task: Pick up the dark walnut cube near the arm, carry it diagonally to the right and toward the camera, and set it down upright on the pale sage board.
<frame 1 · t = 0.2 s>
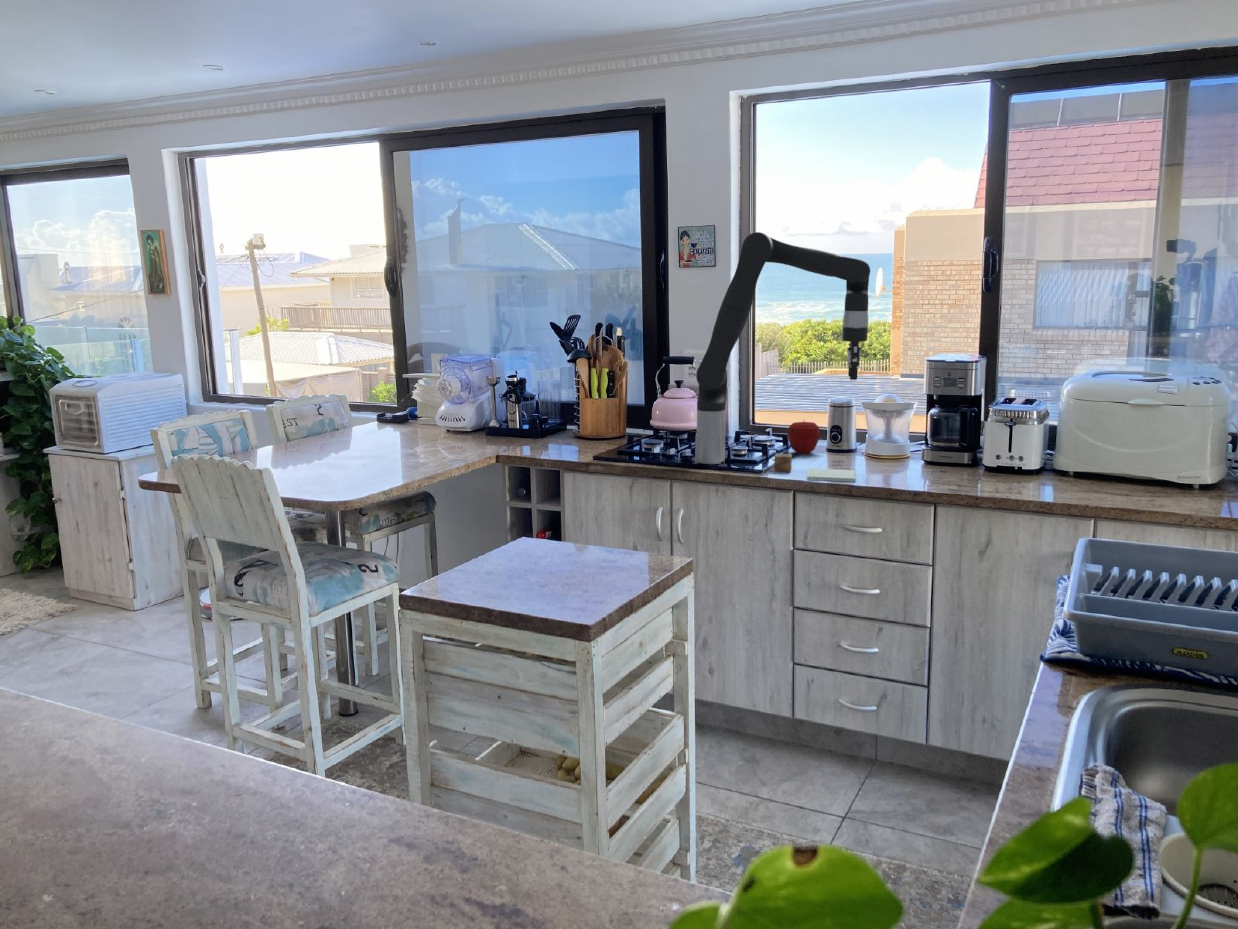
hand: (852, 378, 304), 29 cm above the counter, fingers open, 8 cm apart
sage board: (831, 476, 296), on the counter
walnut cube: (782, 470, 305), on the counter
apple: (802, 454, 333), on the counter
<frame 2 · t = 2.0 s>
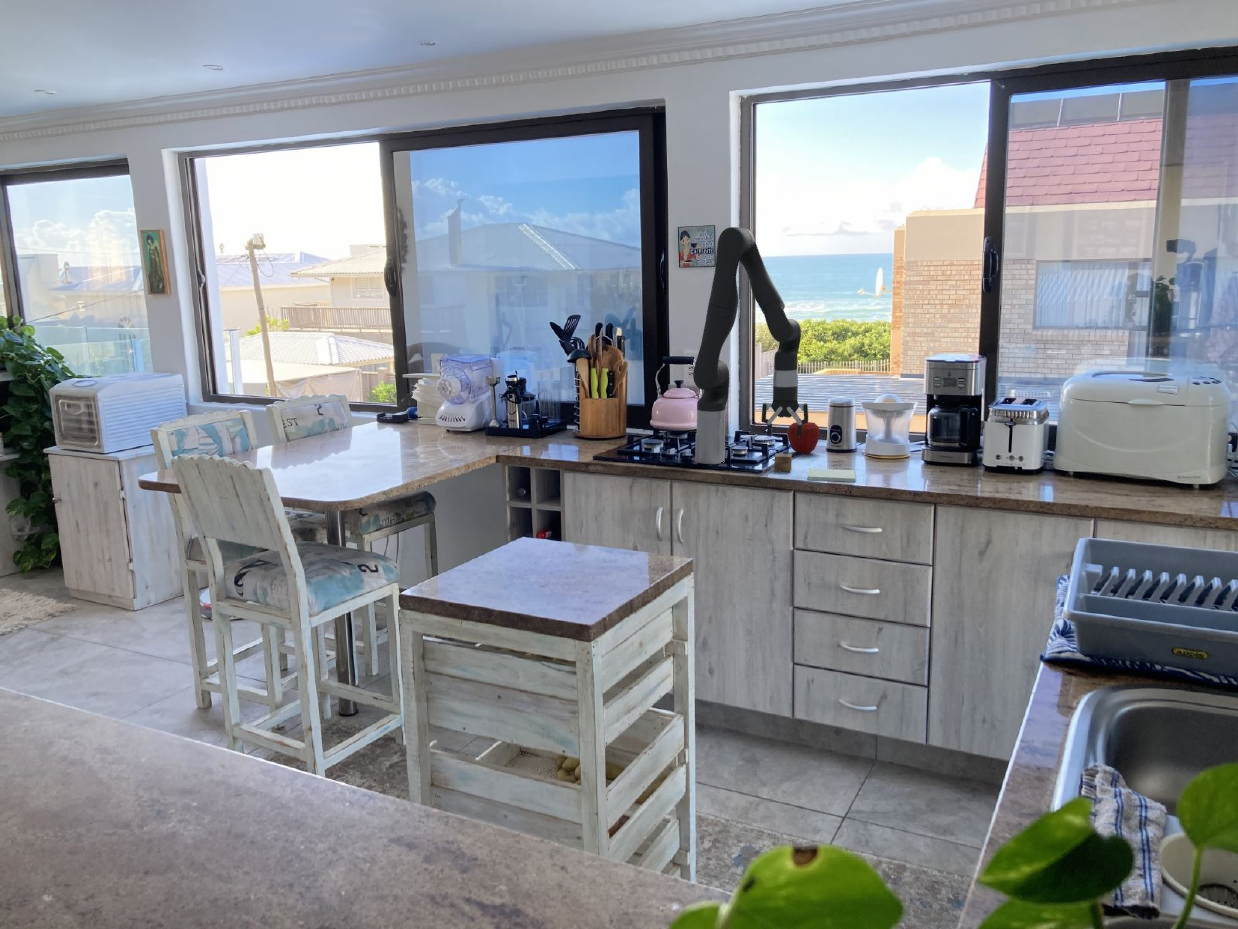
hand: (784, 436, 303), 11 cm above the counter, fingers open, 8 cm apart
nothing on the counter moved.
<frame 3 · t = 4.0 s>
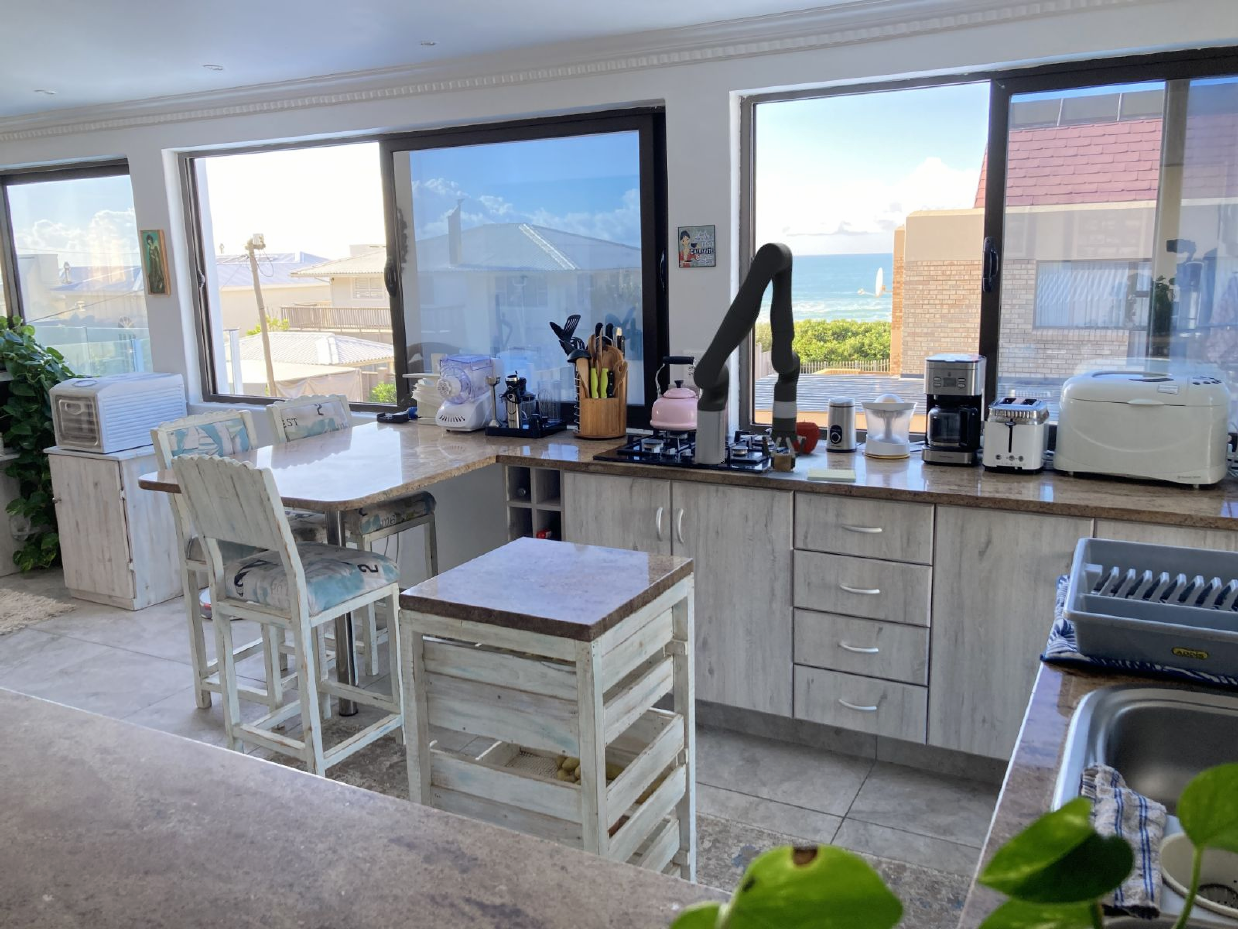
hand: (782, 468, 305), 1 cm above the counter, fingers closed on walnut cube, 5 cm apart
walnut cube: (782, 470, 305), on the counter, touching gripper
everything else where it was.
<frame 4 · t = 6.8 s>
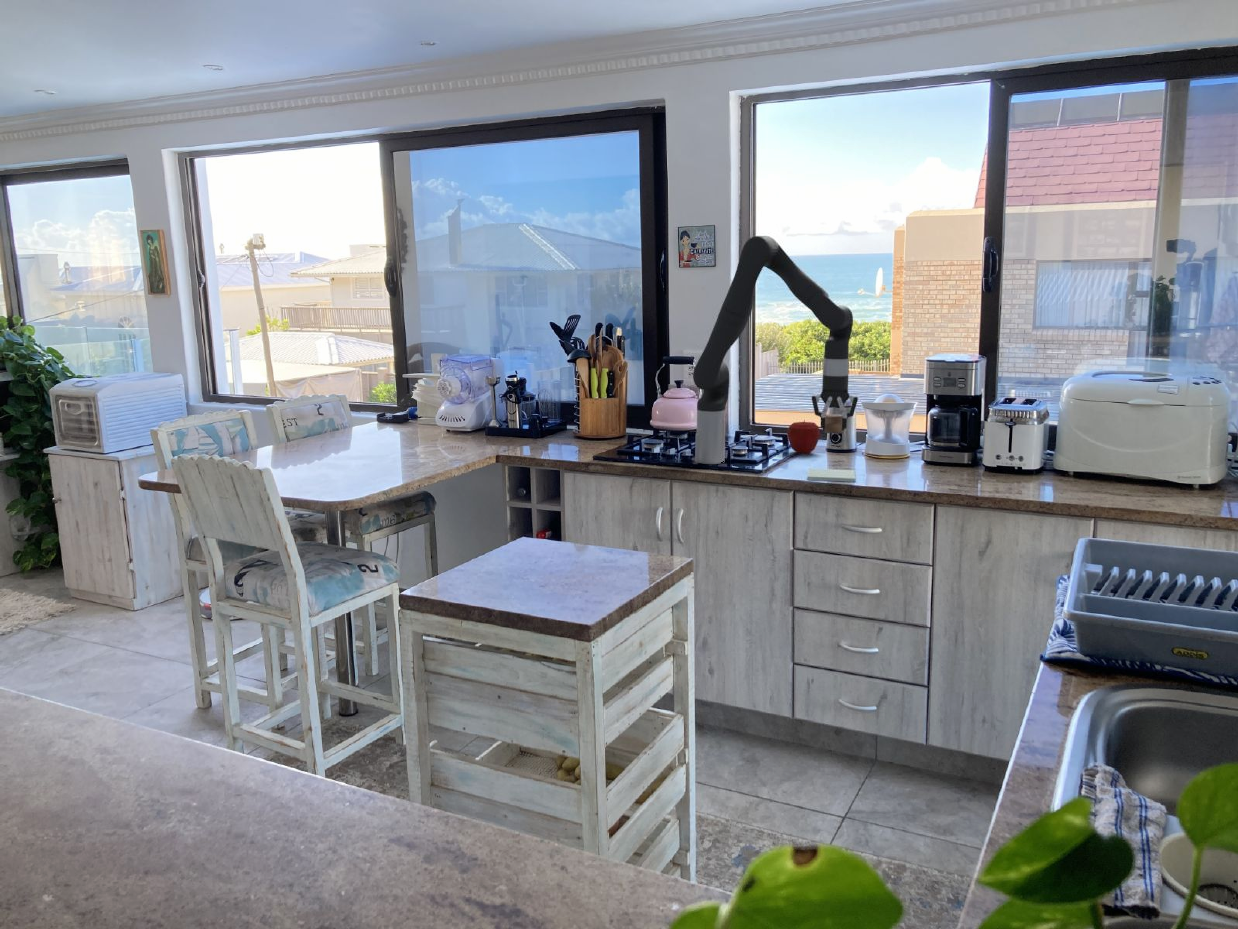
hand: (833, 429, 293), 14 cm above the counter, fingers closed on walnut cube, 5 cm apart
walnut cube: (833, 431, 294), point 14 cm above the counter, touching gripper
everything else where it was.
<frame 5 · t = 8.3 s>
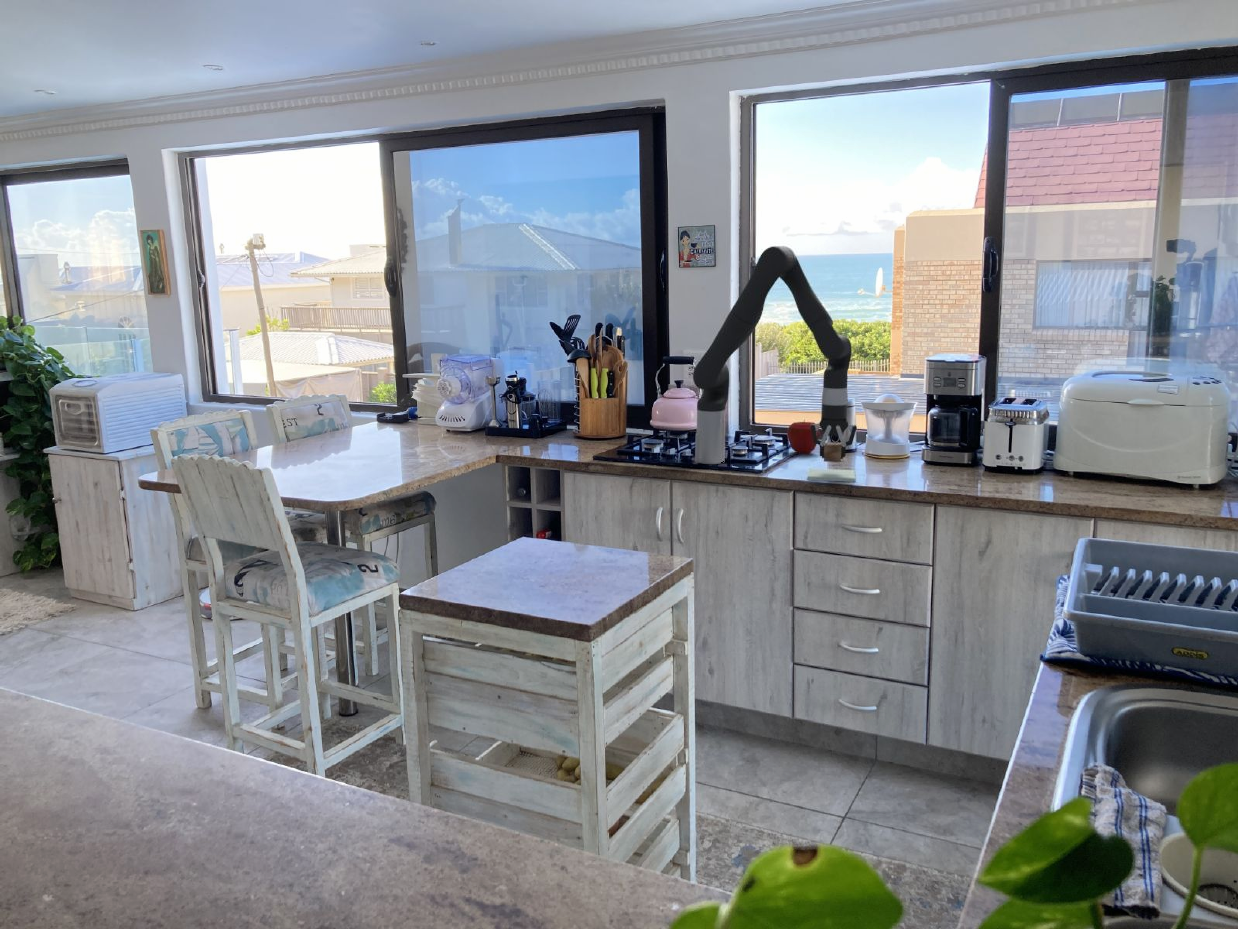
hand: (832, 458, 295), 6 cm above the counter, fingers closed on walnut cube, 5 cm apart
walnut cube: (832, 460, 295), point 5 cm above the counter, touching gripper
everything else where it was.
when the fingers open (3 cm above the counter, at t = 9.8 s): walnut cube drops 1 cm, resting on sage board.
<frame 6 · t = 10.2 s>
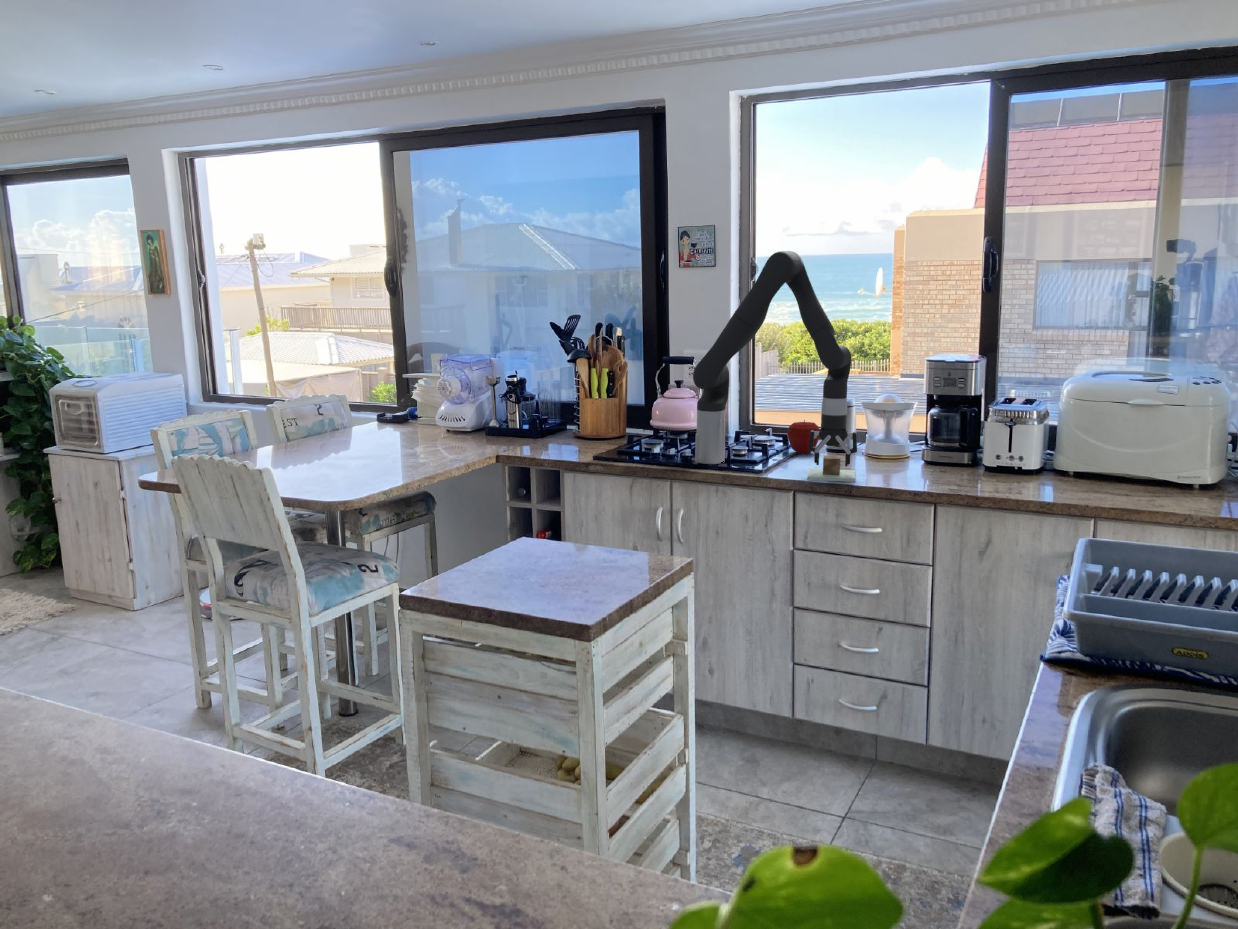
hand: (831, 465, 296), 3 cm above the counter, fingers open, 8 cm apart
walnut cube: (831, 473, 296), point 1 cm above the counter, touching sage board
everything else where it was.
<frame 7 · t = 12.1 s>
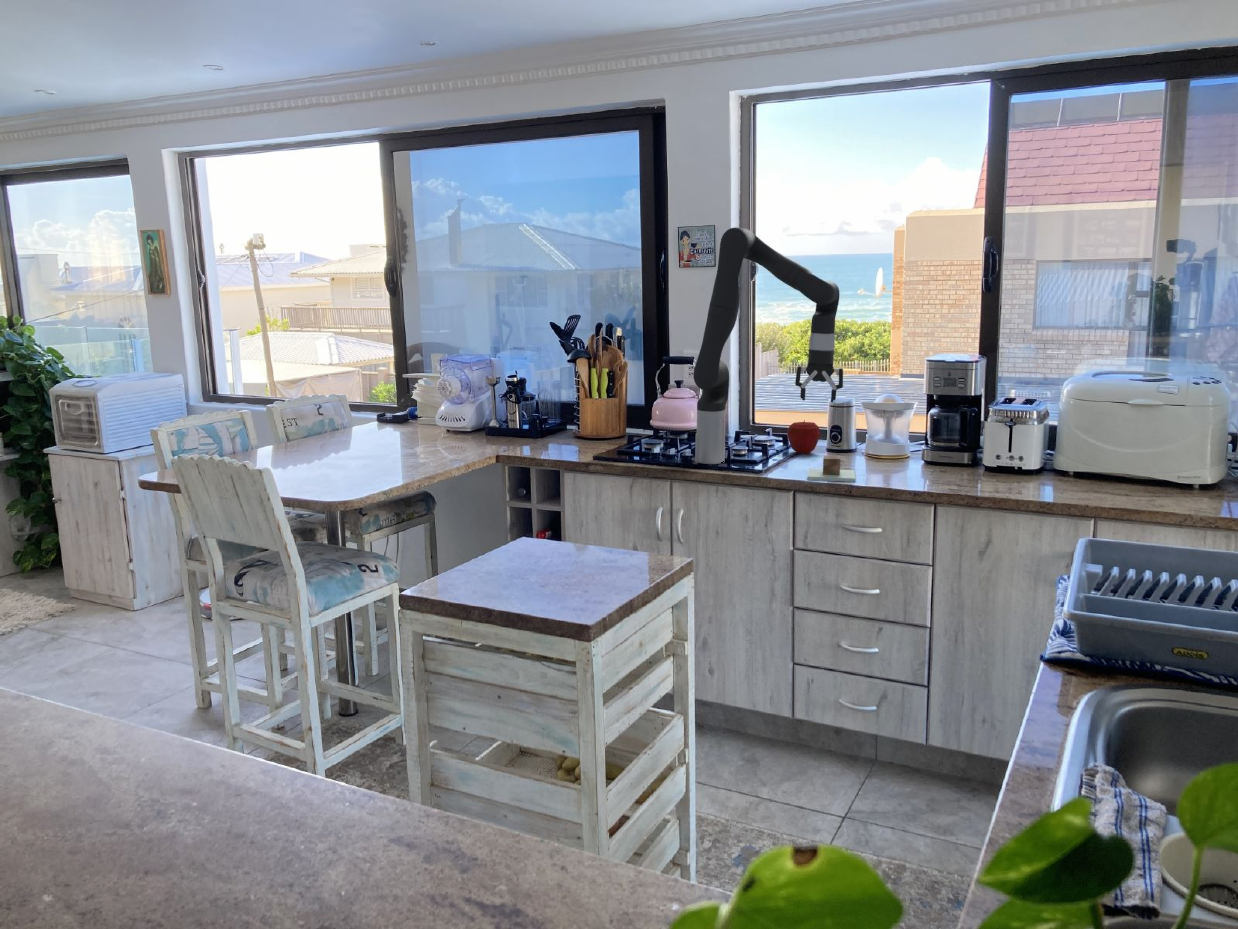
hand: (817, 401, 298), 22 cm above the counter, fingers open, 8 cm apart
nothing on the counter moved.
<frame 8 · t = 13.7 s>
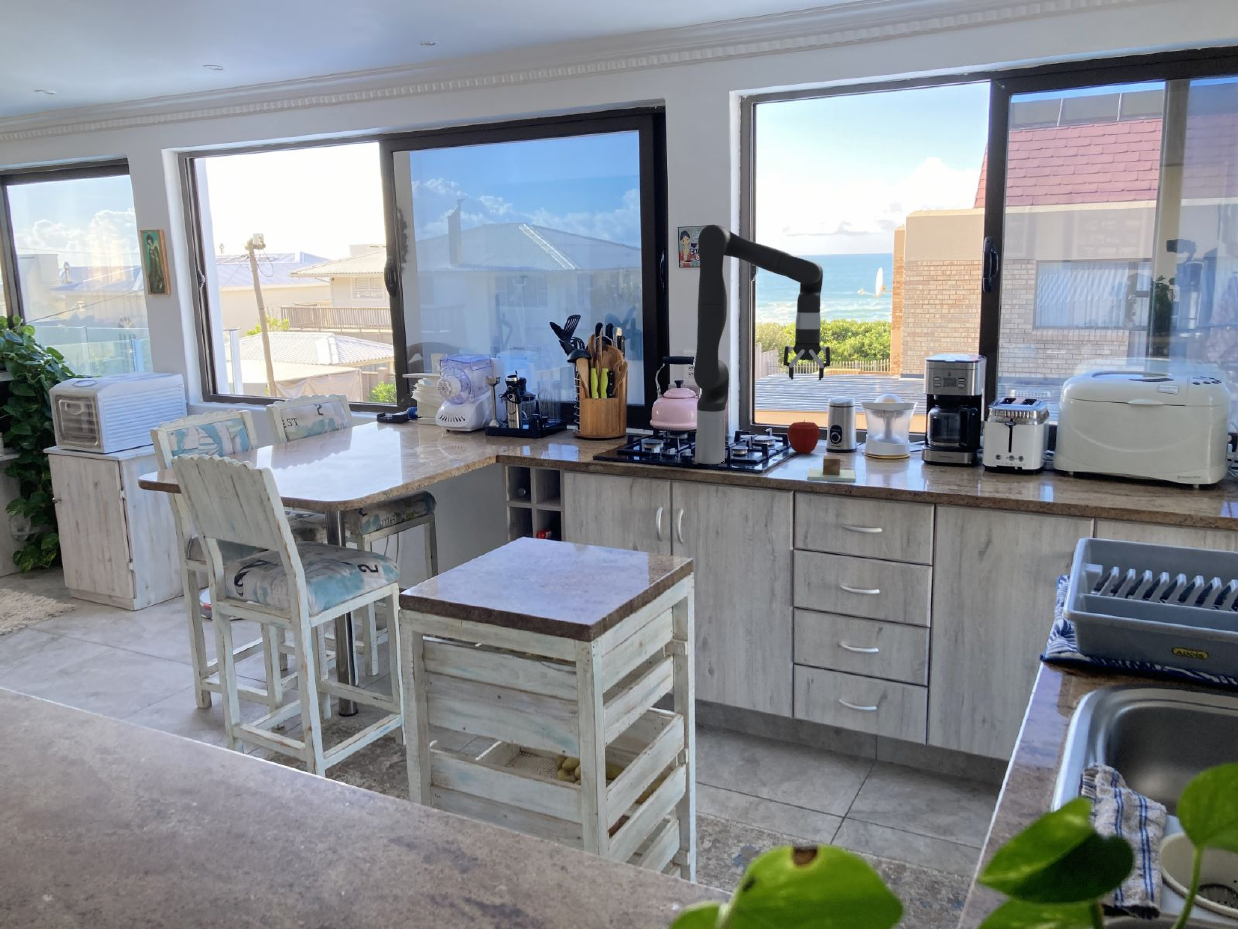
hand: (806, 379, 303), 28 cm above the counter, fingers open, 8 cm apart
nothing on the counter moved.
at the end: walnut cube inside the target area on the sage board (0.1 cm from its centre), point 1.0 cm above the sage board's base; walnut cube tilted 0°; the gripper is holding nothing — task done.
